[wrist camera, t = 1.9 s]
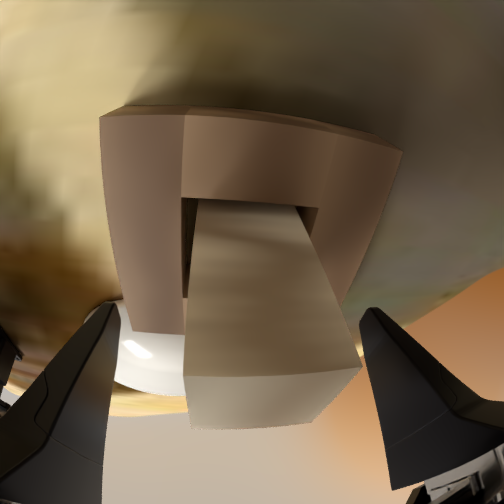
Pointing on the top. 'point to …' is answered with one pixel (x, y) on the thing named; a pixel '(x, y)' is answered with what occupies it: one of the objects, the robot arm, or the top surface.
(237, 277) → the block
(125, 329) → the plate
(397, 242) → the top surface
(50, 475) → the robot arm
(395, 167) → the holder
